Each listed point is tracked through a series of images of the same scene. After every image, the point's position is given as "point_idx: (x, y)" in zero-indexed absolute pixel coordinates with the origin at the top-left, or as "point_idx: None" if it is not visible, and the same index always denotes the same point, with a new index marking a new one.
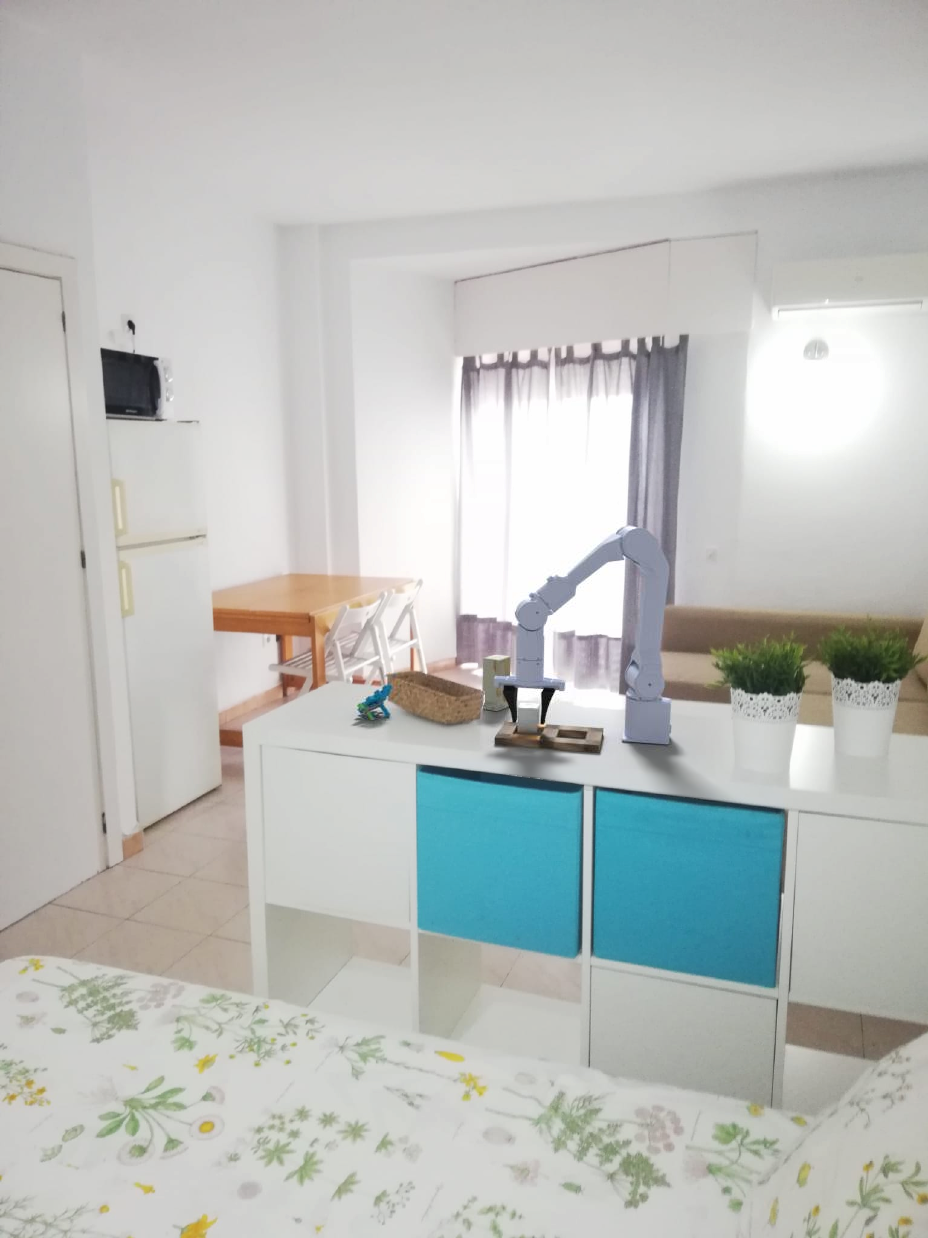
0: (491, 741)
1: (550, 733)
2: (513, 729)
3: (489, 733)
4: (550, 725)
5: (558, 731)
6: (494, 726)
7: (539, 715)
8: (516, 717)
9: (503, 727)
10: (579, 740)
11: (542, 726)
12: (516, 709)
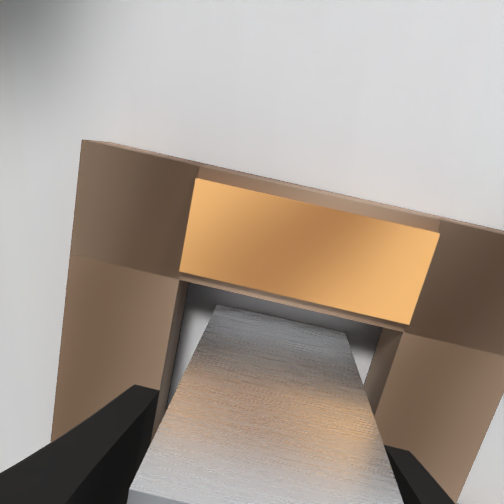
0: (45, 424)
1: (422, 458)
2: (155, 364)
3: (14, 271)
4: (468, 258)
5: (500, 386)
6: (28, 94)
7: (378, 433)
8: (142, 444)
9: (80, 315)
10: None
11: (389, 316)
12: (108, 481)
